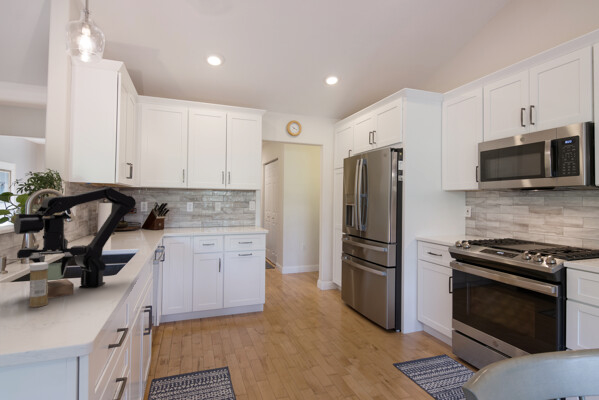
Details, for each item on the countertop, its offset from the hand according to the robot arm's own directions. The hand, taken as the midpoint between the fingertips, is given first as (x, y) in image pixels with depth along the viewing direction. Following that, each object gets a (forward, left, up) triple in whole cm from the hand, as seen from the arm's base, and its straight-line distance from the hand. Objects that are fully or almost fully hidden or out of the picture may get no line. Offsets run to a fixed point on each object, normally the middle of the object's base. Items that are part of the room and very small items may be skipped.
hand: (53, 275), depth 110 cm
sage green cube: (0, 0, -1) cm, 1 cm away
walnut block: (0, 0, -7) cm, 7 cm away
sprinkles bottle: (-4, +12, -7) cm, 15 cm away
